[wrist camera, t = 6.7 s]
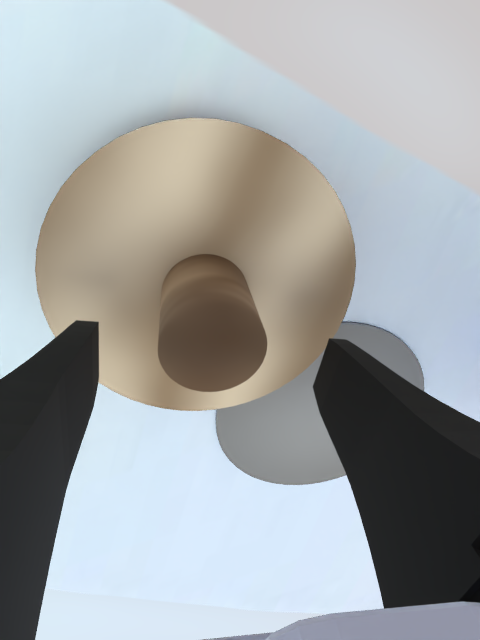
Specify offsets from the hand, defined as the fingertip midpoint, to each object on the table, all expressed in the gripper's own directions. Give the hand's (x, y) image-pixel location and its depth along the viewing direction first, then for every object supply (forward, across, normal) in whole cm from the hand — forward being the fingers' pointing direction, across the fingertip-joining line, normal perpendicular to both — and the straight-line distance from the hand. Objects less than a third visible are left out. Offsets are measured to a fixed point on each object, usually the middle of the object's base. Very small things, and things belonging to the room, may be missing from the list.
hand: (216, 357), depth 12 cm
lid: (+5, 0, 0) cm, 5 cm away
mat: (+9, -10, +11) cm, 18 cm away
